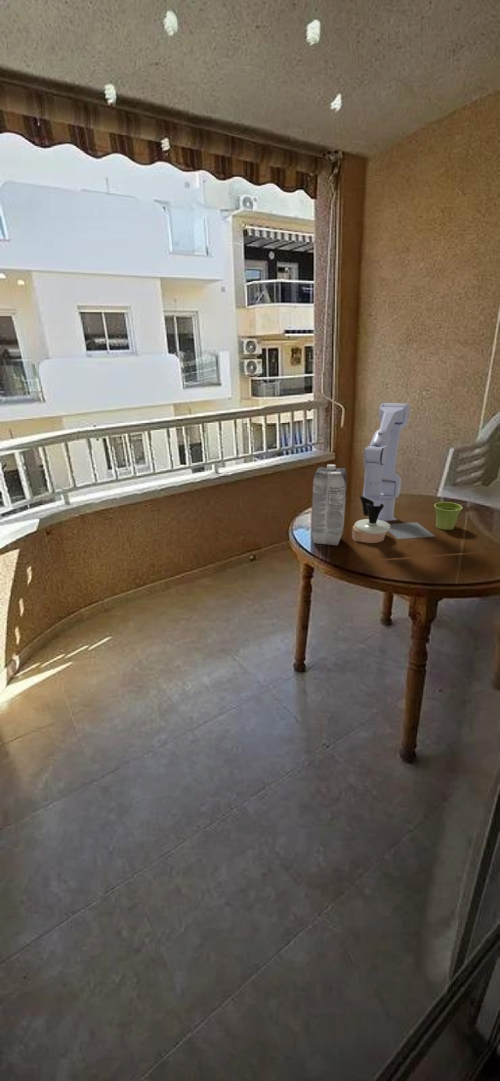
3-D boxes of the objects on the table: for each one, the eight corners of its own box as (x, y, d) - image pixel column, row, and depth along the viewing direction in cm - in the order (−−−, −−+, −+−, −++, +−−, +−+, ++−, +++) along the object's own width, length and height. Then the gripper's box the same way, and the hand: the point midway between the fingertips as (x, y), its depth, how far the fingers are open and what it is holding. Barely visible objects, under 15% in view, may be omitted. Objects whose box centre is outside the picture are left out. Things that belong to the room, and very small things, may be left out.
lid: (351, 522, 160) (351, 509, 158) (383, 520, 160) (384, 507, 158) (360, 534, 149) (361, 521, 147) (394, 533, 149) (396, 519, 147)
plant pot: (461, 533, 157) (465, 510, 154) (433, 532, 159) (436, 509, 156) (455, 524, 166) (459, 502, 162) (429, 523, 168) (432, 501, 164)
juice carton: (340, 547, 149) (344, 470, 139) (310, 544, 152) (312, 468, 142) (343, 537, 157) (348, 463, 146) (314, 534, 160) (317, 462, 149)
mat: (381, 526, 166) (381, 524, 166) (416, 523, 167) (416, 522, 167) (396, 540, 153) (397, 538, 153) (434, 537, 154) (435, 536, 154)
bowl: (348, 533, 161) (348, 523, 159) (377, 531, 162) (378, 521, 160) (358, 545, 151) (359, 534, 149) (389, 542, 152) (390, 532, 150)
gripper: (391, 487, 141) (387, 526, 147) (378, 475, 154) (375, 511, 160) (369, 487, 141) (366, 526, 147) (358, 476, 155) (356, 512, 160)
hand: (369, 519), depth 153 cm, fingers open, 7 cm apart
